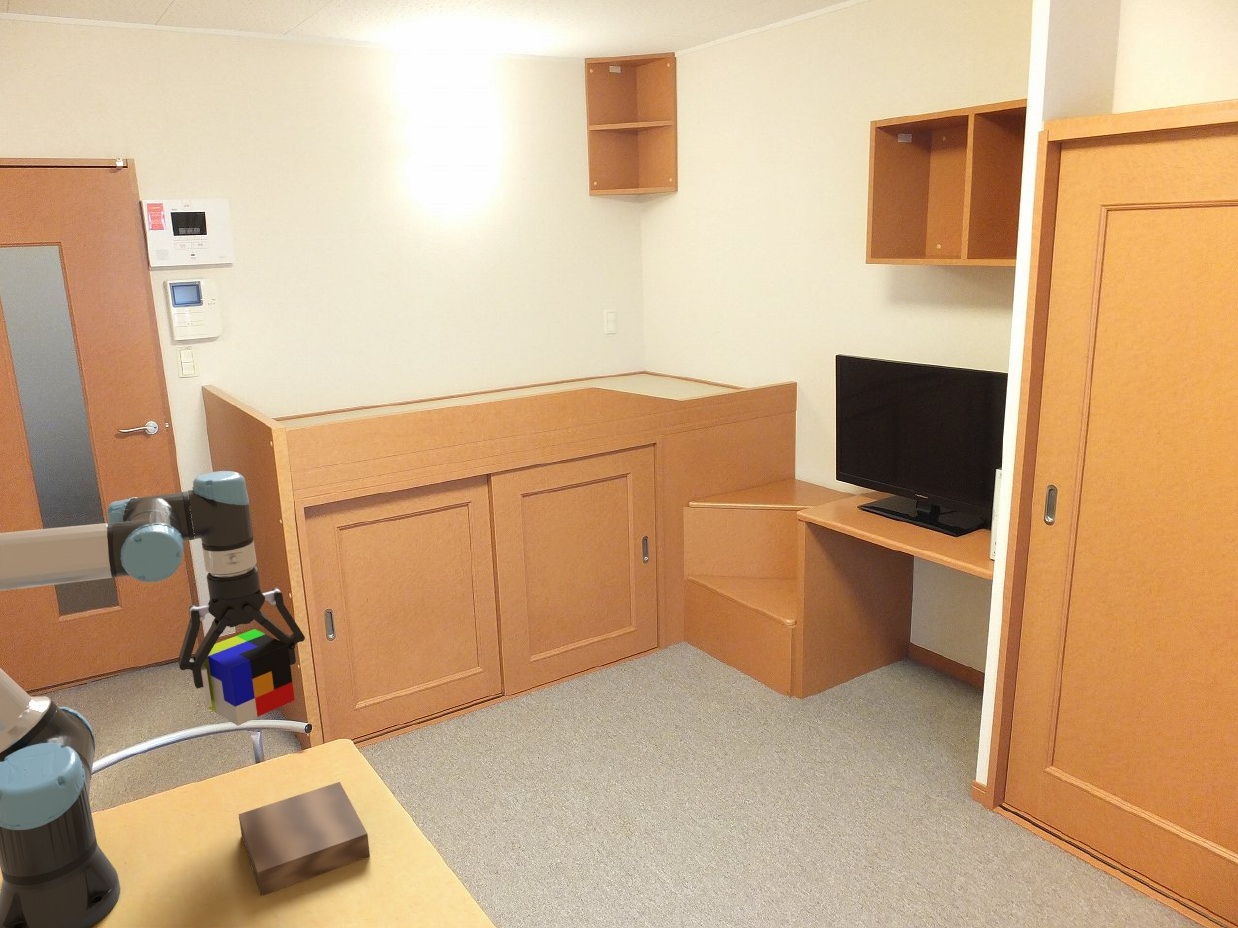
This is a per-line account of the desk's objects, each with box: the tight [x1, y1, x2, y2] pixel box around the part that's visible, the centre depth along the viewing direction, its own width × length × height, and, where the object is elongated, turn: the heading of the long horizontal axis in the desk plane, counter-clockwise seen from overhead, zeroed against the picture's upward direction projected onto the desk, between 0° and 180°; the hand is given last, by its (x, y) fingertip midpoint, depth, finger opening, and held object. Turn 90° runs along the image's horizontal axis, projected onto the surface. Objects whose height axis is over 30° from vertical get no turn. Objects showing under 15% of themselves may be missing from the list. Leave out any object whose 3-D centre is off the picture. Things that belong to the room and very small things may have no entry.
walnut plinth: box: [237, 781, 371, 897], centre depth 145 cm, size 16×16×4 cm
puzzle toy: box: [204, 628, 296, 727], centre depth 151 cm, size 10×10×10 cm
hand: (249, 692), depth 152 cm, fingers closed on puzzle toy, 12 cm apart
